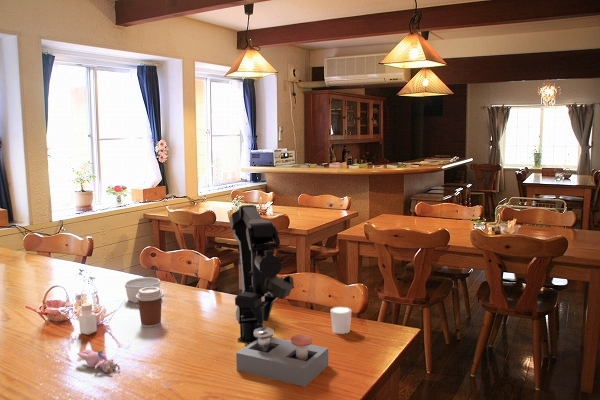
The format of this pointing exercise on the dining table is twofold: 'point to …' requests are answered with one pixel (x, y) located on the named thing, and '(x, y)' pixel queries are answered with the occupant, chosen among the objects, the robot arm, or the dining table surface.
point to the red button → (301, 346)
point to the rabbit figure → (98, 360)
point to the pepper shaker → (87, 319)
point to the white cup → (341, 319)
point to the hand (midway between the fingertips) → (263, 322)
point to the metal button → (263, 338)
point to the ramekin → (139, 286)
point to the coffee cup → (150, 306)
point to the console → (282, 362)
